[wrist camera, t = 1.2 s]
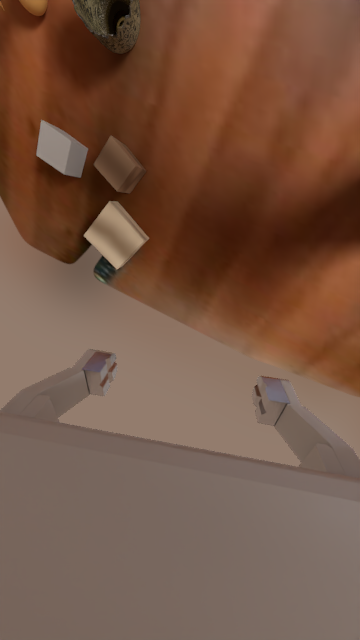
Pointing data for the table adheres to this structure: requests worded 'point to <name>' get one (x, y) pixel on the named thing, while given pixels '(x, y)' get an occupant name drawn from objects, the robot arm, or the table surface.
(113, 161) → the walnut block
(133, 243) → the beech pedestal block
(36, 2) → the figurine
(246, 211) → the table surface
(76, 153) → the grey painted cube
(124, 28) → the cup
